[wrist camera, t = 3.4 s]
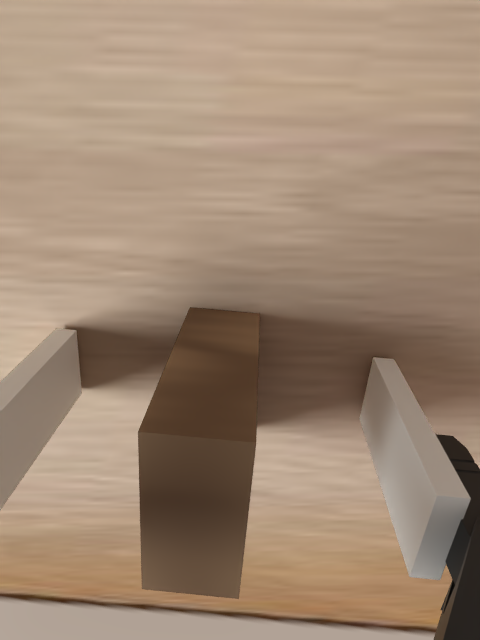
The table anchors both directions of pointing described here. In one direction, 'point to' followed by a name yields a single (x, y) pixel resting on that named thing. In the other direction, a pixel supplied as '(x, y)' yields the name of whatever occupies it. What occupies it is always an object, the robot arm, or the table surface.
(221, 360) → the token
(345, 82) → the table surface
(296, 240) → the table surface
